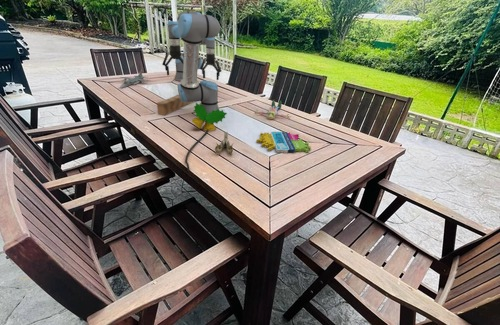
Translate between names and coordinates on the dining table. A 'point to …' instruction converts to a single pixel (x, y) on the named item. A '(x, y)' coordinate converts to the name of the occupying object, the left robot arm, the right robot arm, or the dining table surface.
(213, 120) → the ornament
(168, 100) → the post
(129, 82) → the airplane
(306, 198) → the dining table surface
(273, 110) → the toy
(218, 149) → the jawbone
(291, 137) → the sign
